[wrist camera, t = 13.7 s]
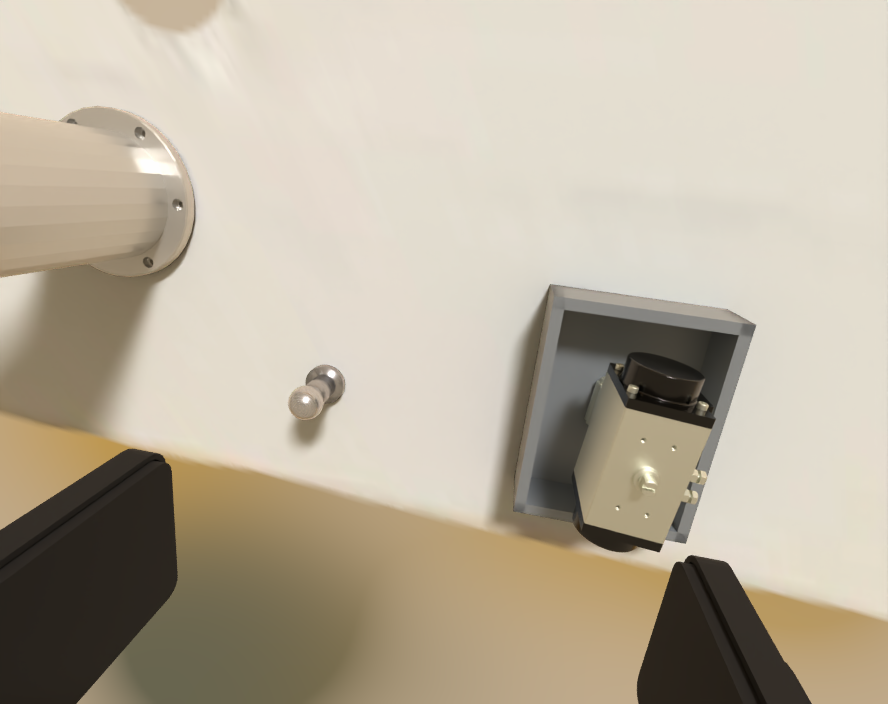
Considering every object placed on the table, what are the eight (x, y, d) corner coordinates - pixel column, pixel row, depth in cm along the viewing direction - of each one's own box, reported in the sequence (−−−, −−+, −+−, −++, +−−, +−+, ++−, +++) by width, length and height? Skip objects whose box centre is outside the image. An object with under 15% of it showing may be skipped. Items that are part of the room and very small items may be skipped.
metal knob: (307, 397, 43) (277, 425, 38) (309, 361, 42) (278, 385, 37) (344, 403, 43) (319, 432, 37) (346, 368, 42) (320, 393, 36)
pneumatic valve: (560, 461, 41) (576, 563, 29) (605, 324, 37) (642, 380, 26) (628, 478, 40) (671, 589, 29) (680, 341, 36) (753, 407, 25)
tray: (514, 478, 42) (513, 511, 38) (550, 284, 37) (554, 296, 33) (668, 506, 41) (685, 543, 37) (727, 309, 36) (756, 325, 32)
